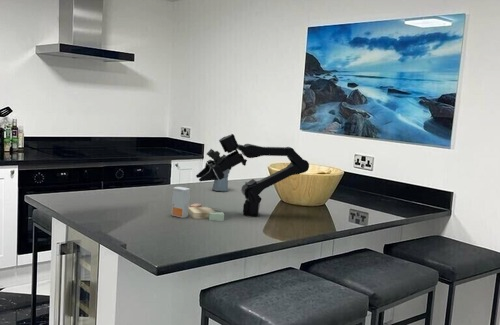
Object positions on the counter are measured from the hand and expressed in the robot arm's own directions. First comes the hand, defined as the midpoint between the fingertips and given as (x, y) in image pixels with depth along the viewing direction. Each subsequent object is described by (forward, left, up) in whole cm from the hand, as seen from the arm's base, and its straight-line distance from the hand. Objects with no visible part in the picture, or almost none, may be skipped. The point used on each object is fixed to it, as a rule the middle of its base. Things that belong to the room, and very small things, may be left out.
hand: (197, 178), depth 211 cm
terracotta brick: (+1, -4, -15) cm, 16 cm away
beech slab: (-4, +3, -15) cm, 16 cm away
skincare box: (+4, +8, -15) cm, 18 cm away
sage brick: (-11, +7, -15) cm, 20 cm away
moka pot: (+4, -58, -15) cm, 60 cm away
